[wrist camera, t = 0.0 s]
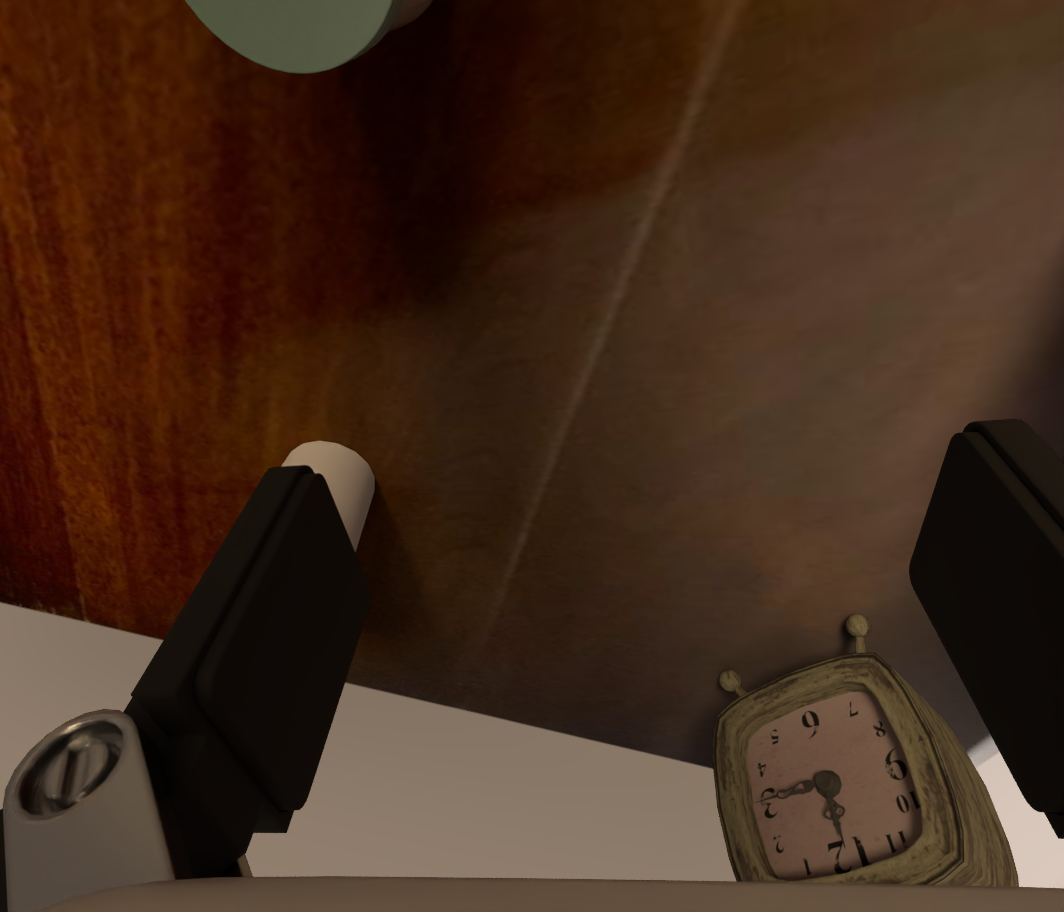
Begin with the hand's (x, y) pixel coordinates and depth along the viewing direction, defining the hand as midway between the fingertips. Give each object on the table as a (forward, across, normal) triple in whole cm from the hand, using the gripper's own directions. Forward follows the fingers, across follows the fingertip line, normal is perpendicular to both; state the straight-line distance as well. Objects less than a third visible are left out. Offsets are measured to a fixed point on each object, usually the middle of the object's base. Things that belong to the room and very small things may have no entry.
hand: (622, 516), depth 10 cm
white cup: (+24, +18, +17) cm, 35 cm away
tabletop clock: (+24, -14, +38) cm, 47 cm away
